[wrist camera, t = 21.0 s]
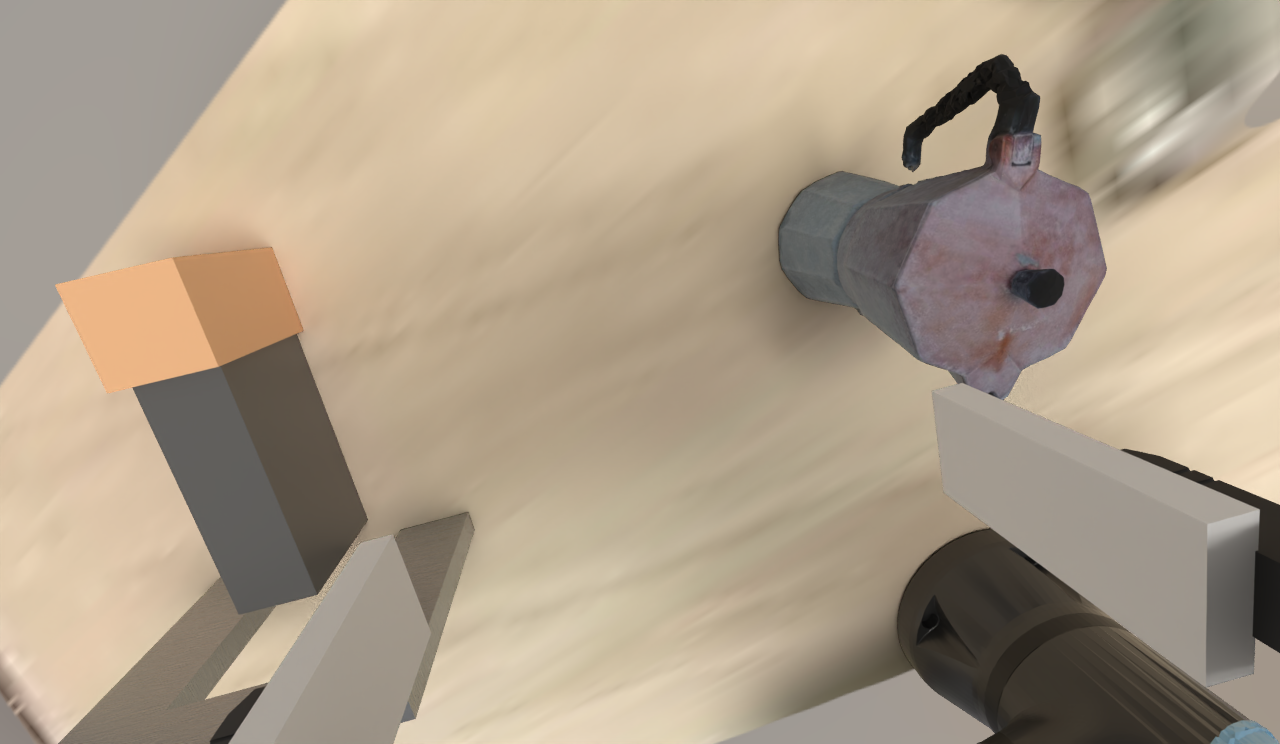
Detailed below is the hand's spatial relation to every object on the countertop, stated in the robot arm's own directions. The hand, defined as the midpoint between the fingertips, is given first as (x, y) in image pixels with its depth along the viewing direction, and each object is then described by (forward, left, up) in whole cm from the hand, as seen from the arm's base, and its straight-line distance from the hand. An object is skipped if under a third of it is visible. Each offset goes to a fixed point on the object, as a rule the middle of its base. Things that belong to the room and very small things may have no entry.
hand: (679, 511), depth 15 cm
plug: (+8, +21, -29) cm, 36 cm away
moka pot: (-4, -16, -29) cm, 33 cm away
